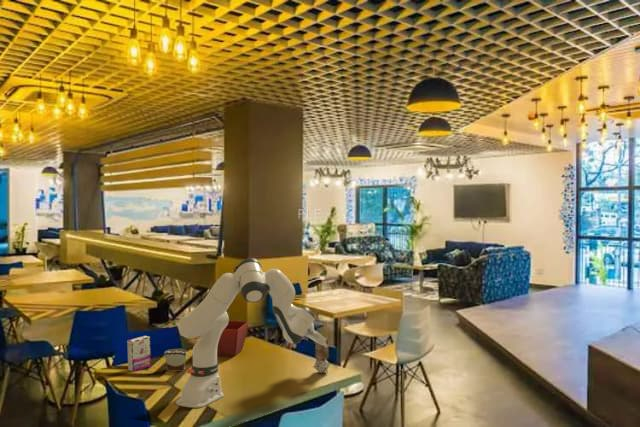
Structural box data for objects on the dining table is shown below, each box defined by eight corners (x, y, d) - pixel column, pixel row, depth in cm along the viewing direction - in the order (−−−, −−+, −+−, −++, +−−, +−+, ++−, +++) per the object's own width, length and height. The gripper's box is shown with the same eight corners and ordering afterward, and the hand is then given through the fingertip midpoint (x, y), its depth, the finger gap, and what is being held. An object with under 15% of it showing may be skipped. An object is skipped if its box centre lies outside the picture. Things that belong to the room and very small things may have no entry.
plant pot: (237, 358, 287) (237, 329, 287) (206, 357, 291) (205, 328, 290) (249, 349, 306) (248, 321, 305) (219, 347, 310) (219, 320, 309)
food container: (190, 367, 274) (190, 348, 273) (186, 370, 267) (186, 352, 267) (168, 366, 275) (168, 348, 274) (164, 370, 269) (164, 351, 268)
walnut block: (319, 359, 259) (319, 340, 258) (315, 357, 263) (315, 337, 263) (328, 358, 261) (328, 339, 260) (324, 355, 265) (324, 336, 265)
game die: (325, 380, 261) (330, 368, 255) (309, 375, 261) (315, 362, 256) (328, 367, 268) (333, 355, 263) (313, 361, 269) (318, 349, 263)
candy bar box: (145, 364, 278) (145, 335, 278) (151, 366, 275) (150, 336, 275) (127, 370, 269) (126, 339, 269) (132, 372, 266) (132, 341, 266)
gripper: (317, 327, 249) (335, 344, 253) (301, 318, 268) (318, 334, 272) (309, 337, 247) (327, 354, 252) (293, 328, 266) (311, 344, 270)
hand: (322, 344), depth 262 cm, fingers open, 8 cm apart
